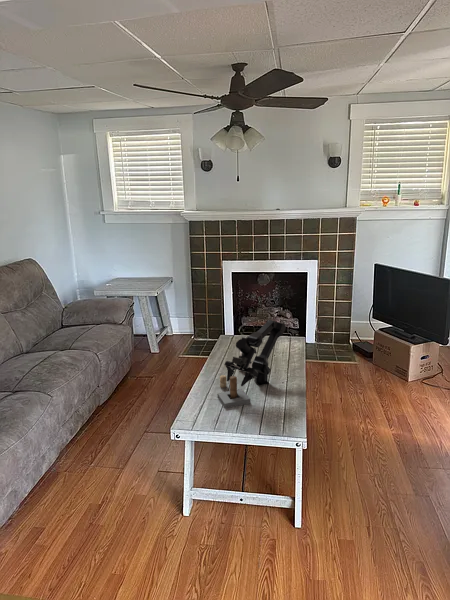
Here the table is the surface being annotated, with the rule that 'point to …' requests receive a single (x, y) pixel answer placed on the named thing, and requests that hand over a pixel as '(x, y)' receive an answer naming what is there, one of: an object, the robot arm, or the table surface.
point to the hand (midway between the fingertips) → (234, 383)
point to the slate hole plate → (227, 402)
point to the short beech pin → (223, 381)
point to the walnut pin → (233, 387)
